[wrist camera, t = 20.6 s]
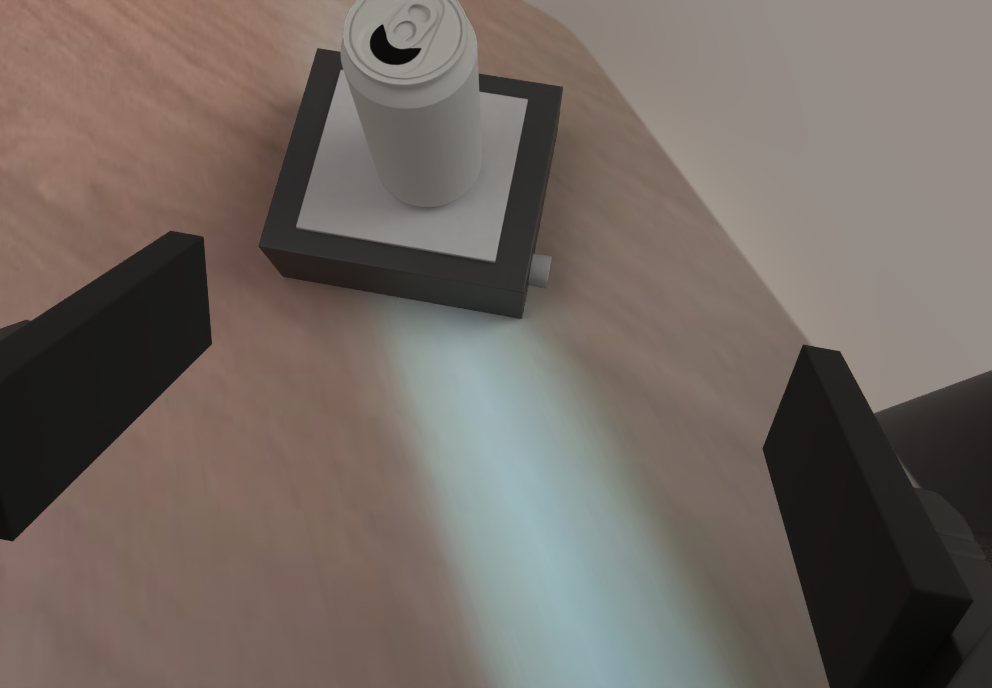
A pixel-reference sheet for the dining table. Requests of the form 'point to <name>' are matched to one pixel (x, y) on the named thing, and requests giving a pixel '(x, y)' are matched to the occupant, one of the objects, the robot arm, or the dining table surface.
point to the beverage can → (416, 95)
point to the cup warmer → (407, 228)
